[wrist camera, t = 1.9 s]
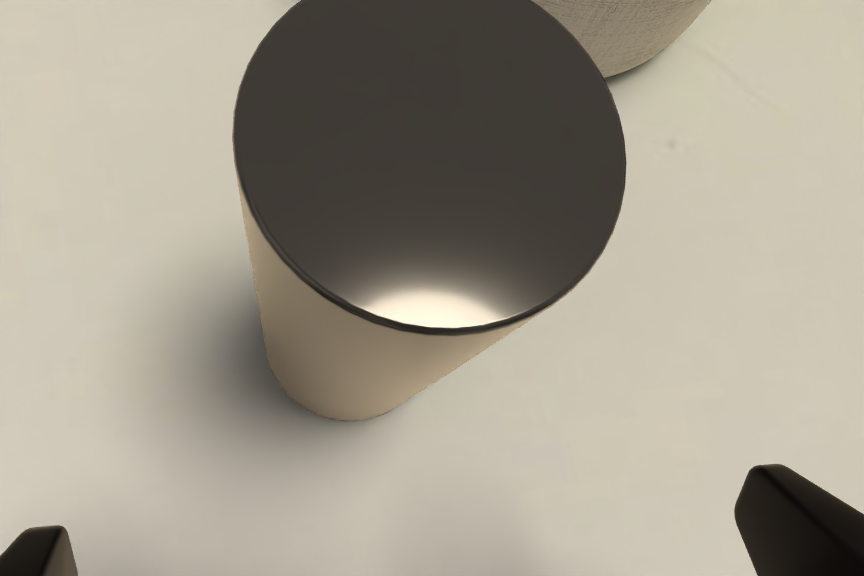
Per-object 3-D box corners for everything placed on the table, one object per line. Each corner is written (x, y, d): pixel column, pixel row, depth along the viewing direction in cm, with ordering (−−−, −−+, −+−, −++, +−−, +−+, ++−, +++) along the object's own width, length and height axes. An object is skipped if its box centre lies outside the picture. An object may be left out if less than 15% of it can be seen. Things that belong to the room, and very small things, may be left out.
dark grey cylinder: (439, 415, 21) (655, 327, 9) (266, 426, 20) (234, 344, 8) (426, 253, 22) (602, -29, 10) (262, 257, 21) (228, -51, 9)
